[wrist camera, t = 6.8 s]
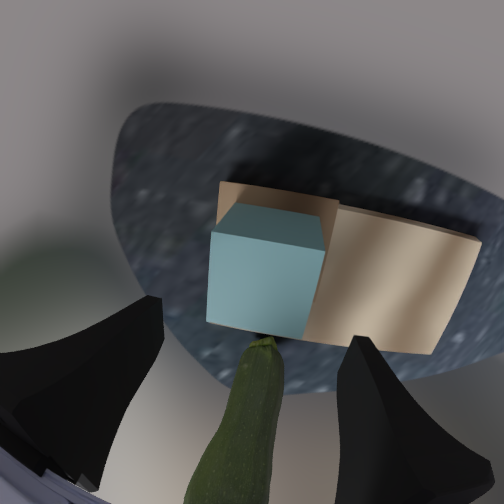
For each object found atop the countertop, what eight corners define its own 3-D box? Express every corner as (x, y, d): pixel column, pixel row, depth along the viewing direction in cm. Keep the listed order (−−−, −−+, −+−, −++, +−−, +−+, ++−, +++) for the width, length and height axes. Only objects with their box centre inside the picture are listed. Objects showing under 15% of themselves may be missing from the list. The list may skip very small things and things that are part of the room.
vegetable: (292, 363, 24) (256, 605, 6) (243, 367, 25) (179, 589, 7) (281, 322, 22) (228, 609, 4) (227, 328, 23) (135, 581, 5)
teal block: (319, 216, 17) (325, 251, 13) (303, 289, 19) (301, 339, 15) (235, 202, 18) (211, 231, 13) (227, 275, 20) (206, 321, 15)
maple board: (476, 230, 17) (484, 236, 16) (426, 345, 21) (430, 355, 20) (225, 177, 18) (219, 181, 17) (214, 313, 23) (210, 323, 22)
